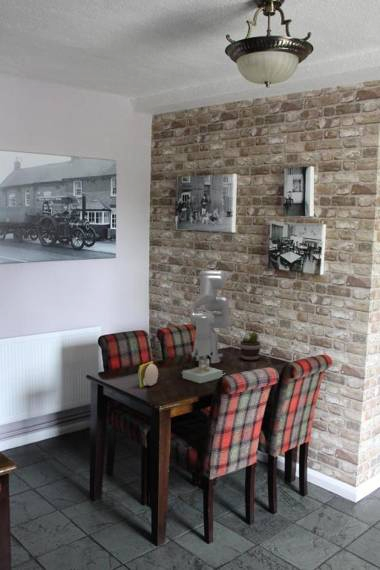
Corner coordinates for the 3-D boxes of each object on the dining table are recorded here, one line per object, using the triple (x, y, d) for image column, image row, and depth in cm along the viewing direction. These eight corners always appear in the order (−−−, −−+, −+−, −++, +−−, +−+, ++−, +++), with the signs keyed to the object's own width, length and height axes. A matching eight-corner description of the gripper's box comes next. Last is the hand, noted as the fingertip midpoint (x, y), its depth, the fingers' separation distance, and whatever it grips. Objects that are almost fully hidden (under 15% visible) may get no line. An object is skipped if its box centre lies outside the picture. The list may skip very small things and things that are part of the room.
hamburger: (148, 388, 307) (148, 367, 306) (136, 386, 311) (136, 365, 310) (161, 383, 317) (160, 362, 316) (148, 381, 322) (148, 360, 320)
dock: (204, 372, 340) (204, 365, 340) (222, 377, 329) (222, 370, 329) (182, 377, 328) (182, 371, 328) (200, 383, 317) (200, 376, 317)
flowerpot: (234, 358, 373) (234, 329, 371) (252, 355, 382) (252, 326, 379) (248, 363, 361) (248, 332, 359) (266, 359, 369) (266, 330, 367)
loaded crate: (202, 369, 332) (202, 357, 331) (209, 370, 328) (209, 359, 327) (196, 370, 328) (195, 359, 327) (202, 372, 324) (202, 360, 323)
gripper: (208, 333, 334) (208, 361, 336) (187, 337, 323) (187, 366, 325) (217, 335, 329) (217, 364, 331) (196, 339, 317) (196, 369, 319)
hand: (202, 365), depth 328 cm, fingers open, 9 cm apart
